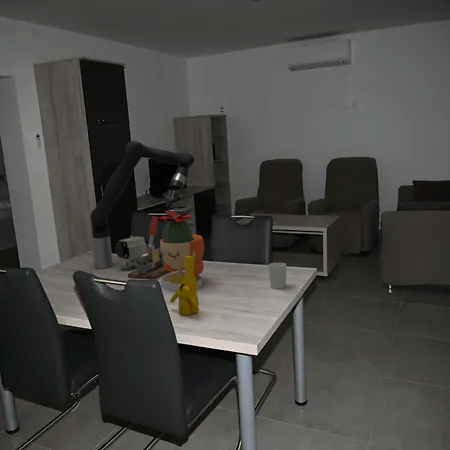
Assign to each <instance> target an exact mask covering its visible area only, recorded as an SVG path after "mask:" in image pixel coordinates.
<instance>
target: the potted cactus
mask: <svg viewBox="0 0 450 450" xmlns="http://www.w3.org/2000/svg"><path fill="white" fill-rule="evenodd" d="M164 212H165V214H167V215H168V216H167V215H166V216H164V215H163V216H158V220H159V219H160V220H164V222H166V223H165V224H164V228H163V231H162V234H161V236H162V239H160V240H159V241H160V243H159V246H160V247H159V248H160V252H161V255H162V257H163V259H164V261H165V263H164V268H165V269H166V270H167V271H171V272H170V273H167V274H165V275H163V276H161V277H160V284H161V287H162V288H163V289H164V290H168V291H173V292H176V290H177V287H178V286H180V285H181V284H182V279H183V277H184V275H185V272H183V271H185V268H184V258H185V256H193V258H194V263H195V265H194V270H193V273H194V276H195V278H196V280H197V290H198V289H200V288H201V287H202V286H203V282H202V279H203V278H202V276H201V274H202V272H203V271H204V261H203V260H202V259H203V257H204V252H205V244H204V238H203V236H202V235H198V234H194V233H193V229H192V227H191V223H188V221H187V220H188V219H191V218H192V217H193V215H192V214H190V212H187V211H186V212H185V213H183V214H180V213H177V212H175V211H174V210H168V209H167V210H165V211H164ZM177 271H178V272H177ZM172 272H173V273H172Z"/></svg>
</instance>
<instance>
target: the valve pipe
mask: <svg viewBox="0 0 450 450" xmlns="http://www.w3.org/2000/svg"><path fill="white" fill-rule="evenodd" d="M135 259H136V263H137V267H138V268H137V270H138V274H144V275H147V274H149V266H148V265H149V264H155V266H158V267H164V263H165V261H164V259H163V257H162V255H161V252H160V247H158V248H156V247H155V244H152V246H151V248H147V245H146V250H144V251H142V255H140V256H138V257H135Z"/></svg>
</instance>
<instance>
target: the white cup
mask: <svg viewBox="0 0 450 450" xmlns="http://www.w3.org/2000/svg"><path fill="white" fill-rule="evenodd" d="M268 276H269V284H270V288H272V289H275V290H276V289H278V290H280V289H284V288H286V286H287V285H286V284H287V283H286V282H287V263H285V262H272V263H269V264H268Z"/></svg>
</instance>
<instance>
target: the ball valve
mask: <svg viewBox="0 0 450 450" xmlns="http://www.w3.org/2000/svg"><path fill="white" fill-rule="evenodd" d="M146 245H149V240H148V239H146V236H138V235H137V236H133V235H130V237H128V238H125V239H120V240H117V244H116V246H115V247H114V249H115V255H116V256H117V257H119V258H120V259H124V260H127V261H125V268H126V269H129V268H130V269H129V270H131V269H134V268H136V269H138V267H137V263H136V257H138V256H140V255H142V251H144V250H146ZM129 259H130V260H129Z"/></svg>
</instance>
